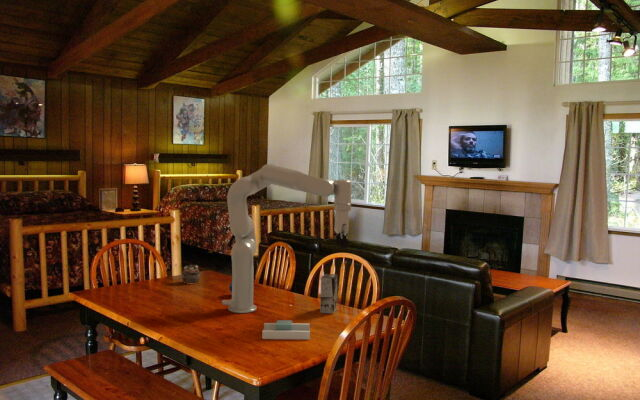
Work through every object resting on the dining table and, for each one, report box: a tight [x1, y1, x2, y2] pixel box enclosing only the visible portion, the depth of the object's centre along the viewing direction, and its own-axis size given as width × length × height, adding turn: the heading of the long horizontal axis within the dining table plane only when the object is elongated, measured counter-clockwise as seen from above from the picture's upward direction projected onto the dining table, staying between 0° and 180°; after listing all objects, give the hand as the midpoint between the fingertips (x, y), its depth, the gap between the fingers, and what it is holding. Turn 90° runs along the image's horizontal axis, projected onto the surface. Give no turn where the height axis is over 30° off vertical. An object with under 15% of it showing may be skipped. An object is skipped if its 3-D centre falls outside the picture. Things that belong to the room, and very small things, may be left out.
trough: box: [261, 322, 311, 341], centre depth 210 cm, size 18×10×3 cm, turn 92°
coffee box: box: [319, 273, 339, 315], centre depth 245 cm, size 9×6×16 cm
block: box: [275, 319, 293, 331], centre depth 210 cm, size 6×6×5 cm
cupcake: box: [181, 263, 200, 283], centre depth 295 cm, size 10×10×10 cm
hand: (341, 245), depth 242 cm, fingers open, 9 cm apart
